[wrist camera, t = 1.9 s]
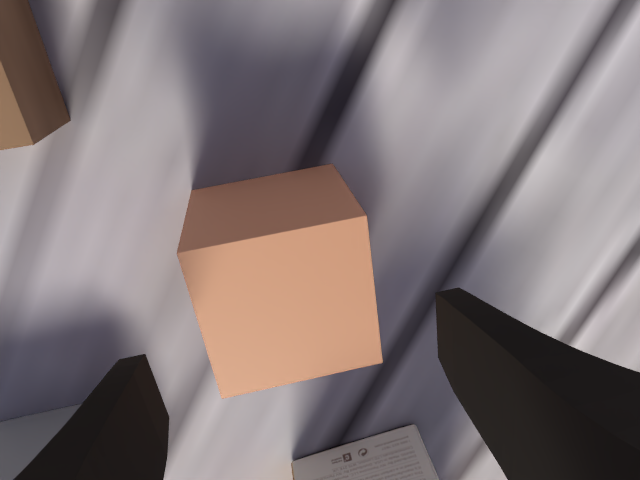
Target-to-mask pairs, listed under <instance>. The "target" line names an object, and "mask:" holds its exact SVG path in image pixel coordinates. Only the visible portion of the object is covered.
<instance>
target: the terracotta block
mask: <svg viewBox="0 0 640 480" xmlns="http://www.w3.org/2000/svg"><path fill="white" fill-rule="evenodd" d="M177 256H178V259H179V262H180V265H181V269H182V272H183V275H184V278H185V281H186V285H187V288H188V291H189V294H190V298H191V301H192V304H193V307H194V311H195V314H196V317H197V320H198V323H199V327H200V330H201V333H202V336H203V340H204V343H205V346H206V349H207V353H208V356H209V359H210V362H211V365H212V369H213V372H214V375H215V378H216V382H217V385H218V388H219V391H220V395H221V398H222V399H224V398H228V397H233V396H237V395H242V394H246V393H250V392H255V391H259V390H264V389H268V388H273V387H277V386H282V385H286V384H290V383H295V382H299V381H304V380H308V379H313V378H317V377H322V376H326V375H330V374H335V373H339V372H344V371H348V370H353V369H357V368H362V367H366V366H370V365H375V364H379V363H383V360H382V351H381V342H380V333H379V324H378V314H377V305H376V296H375V287H374V277H373V268H372V259H371V250H370V241H369V231H368V222H367V215H366V214H365V212H364V211H363V209H362V208H361V206H360V205H359V203H358V201H357V200H356V198H355V197H354V195H353V194H352V192H351V191H350V189H349V188H348V186H347V185H346V183H345V182H344V180H343V179H342V177H341V176H340V174H339V173H338V171H337V170H336V168H335V167H334V165H333V164H328V165H323V166H318V167H312V168H307V169H302V170H296V171H291V172H286V173H280V174H275V175H270V176H265V177H259V178H254V179H249V180H243V181H238V182H233V183H227V184H222V185H217V186H211V187H206V188H201V189H196V190H192V191H191V195H190V199H189V203H188V208H187V212H186V216H185V220H184V225H183V229H182V233H181V237H180V242H179V246H178V250H177Z"/></svg>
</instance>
